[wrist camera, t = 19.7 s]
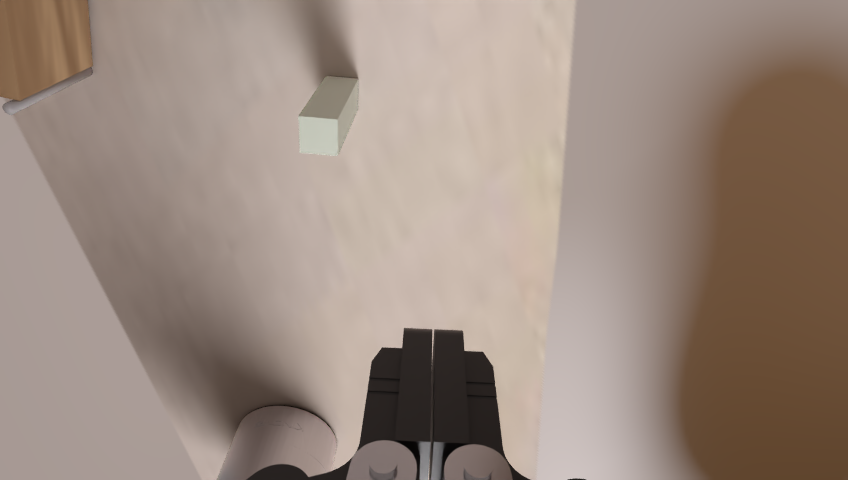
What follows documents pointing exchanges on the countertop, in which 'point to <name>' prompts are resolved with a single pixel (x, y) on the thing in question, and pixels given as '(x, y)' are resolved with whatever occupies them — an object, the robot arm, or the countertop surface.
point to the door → (42, 44)
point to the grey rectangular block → (318, 120)
